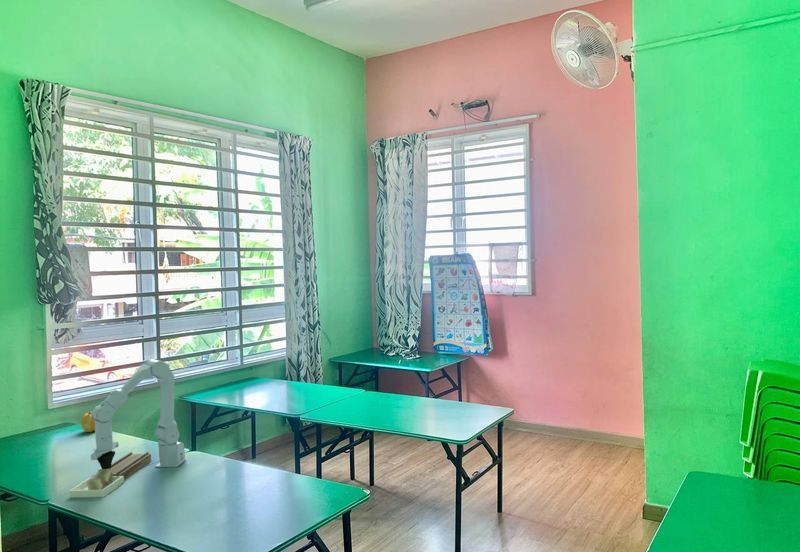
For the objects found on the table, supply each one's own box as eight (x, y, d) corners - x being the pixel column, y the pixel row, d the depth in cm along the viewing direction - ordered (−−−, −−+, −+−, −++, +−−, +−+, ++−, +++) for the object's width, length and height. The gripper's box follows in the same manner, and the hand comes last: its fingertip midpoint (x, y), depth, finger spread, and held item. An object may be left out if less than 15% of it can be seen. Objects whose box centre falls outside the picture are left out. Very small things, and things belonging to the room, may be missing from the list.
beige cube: (113, 475, 219) (109, 468, 217) (108, 484, 215) (104, 477, 213) (103, 476, 219) (99, 469, 217) (98, 484, 215) (94, 477, 213)
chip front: (102, 474, 213) (97, 481, 209) (105, 483, 214) (99, 491, 210) (92, 475, 213) (86, 482, 209) (94, 484, 214) (88, 491, 211)
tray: (124, 482, 219) (123, 475, 218) (103, 497, 206) (103, 490, 206) (92, 482, 220) (91, 476, 220) (69, 497, 207) (69, 490, 207)
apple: (101, 431, 286) (100, 412, 286) (81, 435, 282) (79, 415, 281) (101, 427, 294) (99, 408, 294) (81, 430, 290) (79, 411, 289)
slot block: (151, 460, 241) (150, 451, 241) (121, 481, 219) (120, 472, 219) (128, 460, 242) (128, 452, 242) (96, 482, 220) (96, 472, 220)
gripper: (105, 430, 225) (108, 464, 226) (81, 443, 211) (84, 479, 212) (122, 430, 225) (124, 464, 225) (99, 443, 210) (102, 479, 211)
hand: (106, 471), depth 218 cm, fingers closed
